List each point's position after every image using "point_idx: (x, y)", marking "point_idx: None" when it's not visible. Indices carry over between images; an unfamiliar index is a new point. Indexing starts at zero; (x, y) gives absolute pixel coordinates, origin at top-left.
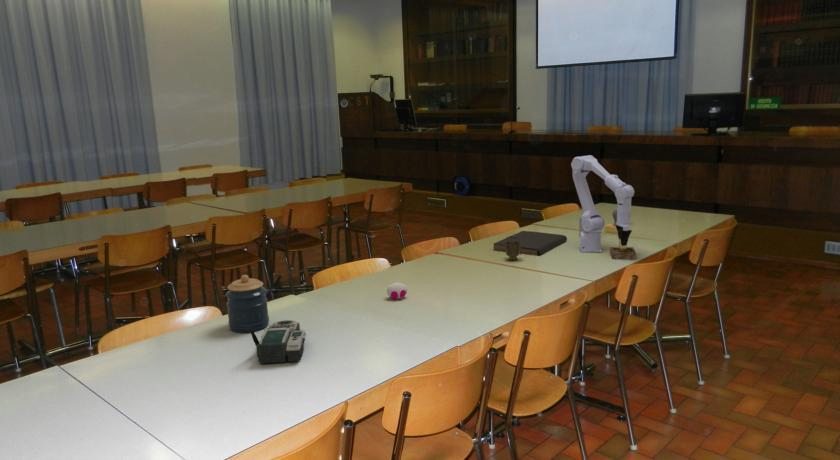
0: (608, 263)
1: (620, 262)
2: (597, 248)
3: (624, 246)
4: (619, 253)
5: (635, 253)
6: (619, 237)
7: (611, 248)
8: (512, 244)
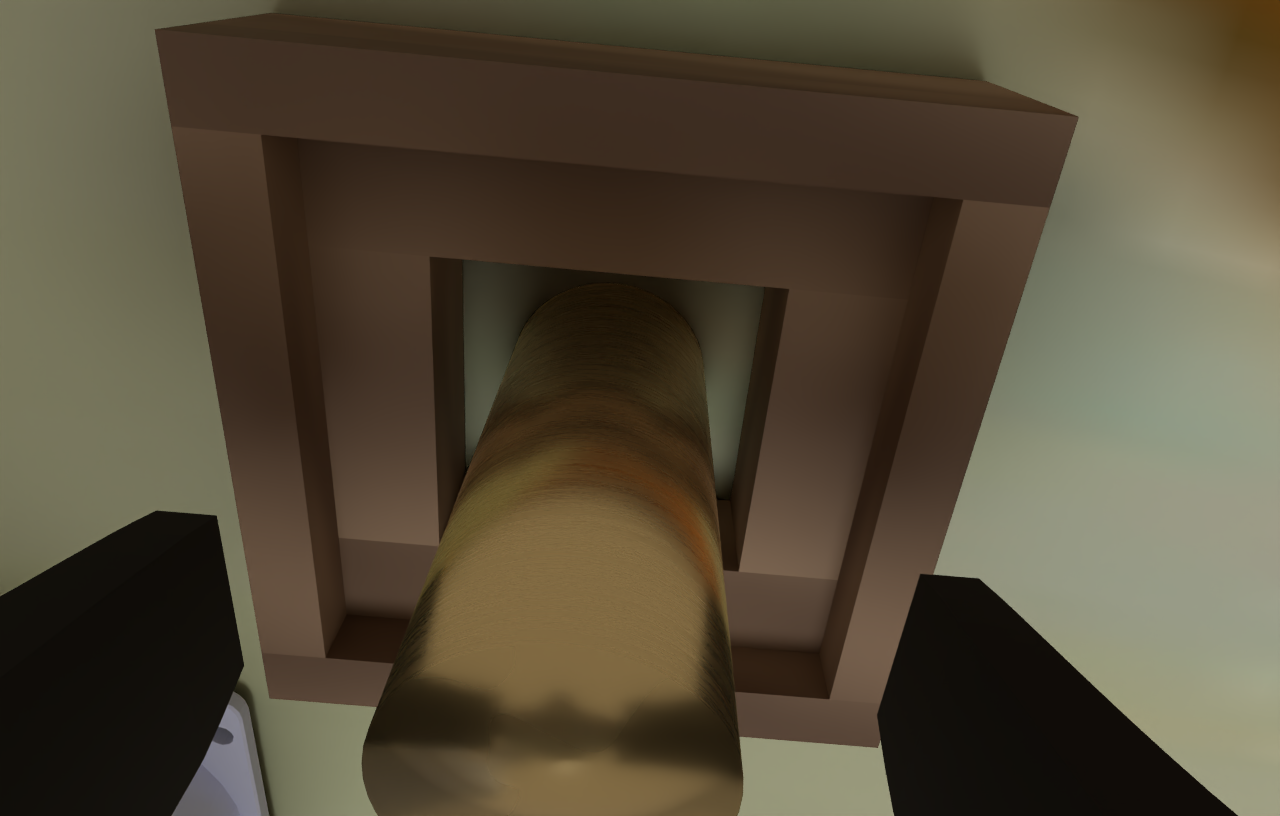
0: (1167, 732)
1: (1171, 526)
2: (181, 808)
3: (718, 529)
4: (915, 588)
5: (1053, 138)
6: (156, 813)
7: None
8: None
